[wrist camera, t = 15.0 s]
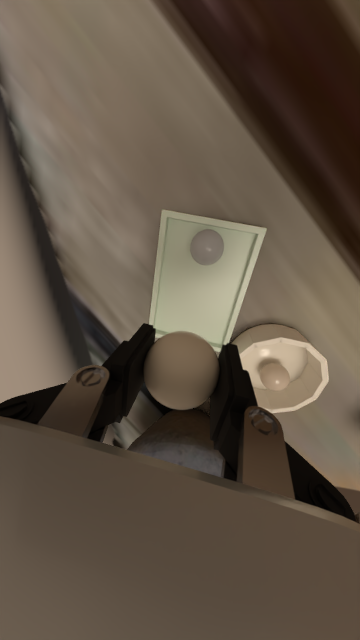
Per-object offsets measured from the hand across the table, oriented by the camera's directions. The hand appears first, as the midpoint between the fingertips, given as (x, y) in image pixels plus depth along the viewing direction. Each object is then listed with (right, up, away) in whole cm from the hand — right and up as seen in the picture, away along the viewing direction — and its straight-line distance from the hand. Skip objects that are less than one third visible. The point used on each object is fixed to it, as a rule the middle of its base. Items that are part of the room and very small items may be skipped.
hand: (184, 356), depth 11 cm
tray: (+2, +7, +16) cm, 17 cm away
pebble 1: (0, 0, +1) cm, 1 cm away
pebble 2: (+3, +12, +13) cm, 18 cm away
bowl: (+13, -4, +18) cm, 23 cm away
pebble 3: (+14, -5, +18) cm, 24 cm away
